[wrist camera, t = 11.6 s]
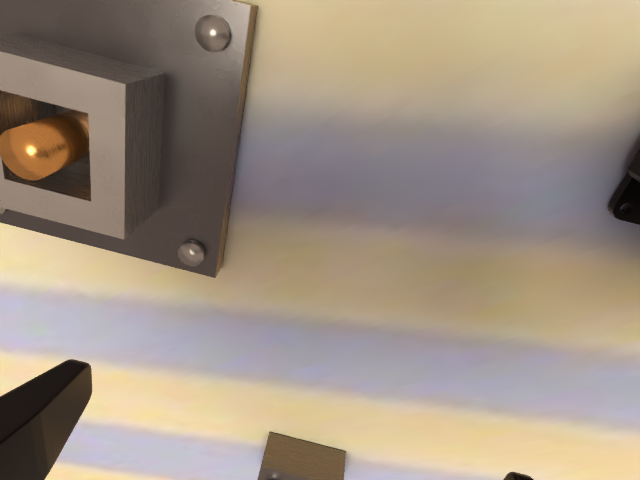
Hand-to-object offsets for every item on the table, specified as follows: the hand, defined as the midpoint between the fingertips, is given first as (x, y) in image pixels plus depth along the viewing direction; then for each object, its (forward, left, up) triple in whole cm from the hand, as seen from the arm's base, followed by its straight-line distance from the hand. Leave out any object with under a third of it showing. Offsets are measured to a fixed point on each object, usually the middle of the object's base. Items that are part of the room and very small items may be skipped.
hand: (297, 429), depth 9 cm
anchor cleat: (-2, +18, -12) cm, 22 cm away
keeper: (+11, -1, -12) cm, 16 cm away
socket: (+11, -1, -11) cm, 16 cm away
